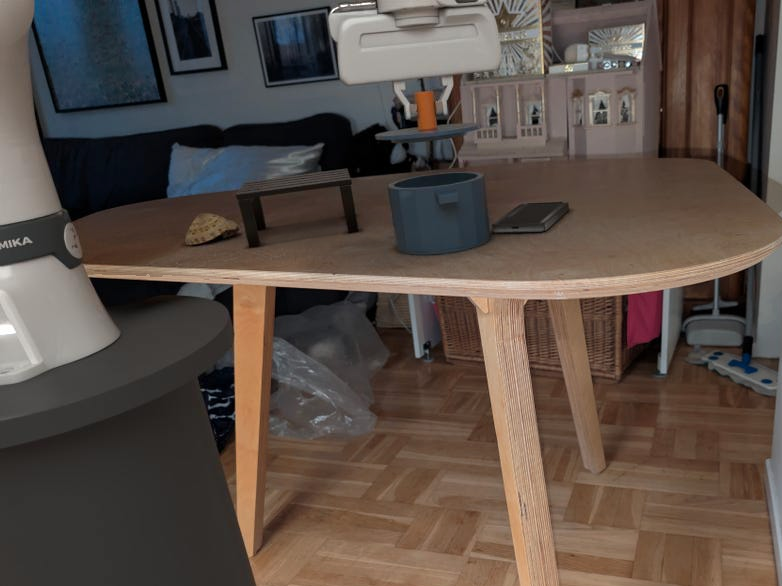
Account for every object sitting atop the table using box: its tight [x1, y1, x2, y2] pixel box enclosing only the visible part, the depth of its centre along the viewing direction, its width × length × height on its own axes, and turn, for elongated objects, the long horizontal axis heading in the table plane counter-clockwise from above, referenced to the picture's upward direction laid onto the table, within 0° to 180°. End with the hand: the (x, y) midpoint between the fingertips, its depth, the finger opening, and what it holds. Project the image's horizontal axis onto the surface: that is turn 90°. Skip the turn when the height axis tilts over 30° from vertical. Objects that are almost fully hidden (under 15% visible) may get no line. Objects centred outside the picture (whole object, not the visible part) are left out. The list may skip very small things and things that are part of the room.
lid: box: [374, 90, 482, 144], centre depth 89 cm, size 14×14×6 cm
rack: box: [235, 168, 360, 249], centre depth 113 cm, size 17×16×8 cm
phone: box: [491, 201, 570, 234], centre depth 102 cm, size 8×1×15 cm
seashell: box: [184, 212, 242, 246], centre depth 115 cm, size 8×6×8 cm
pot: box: [387, 171, 491, 256], centre depth 94 cm, size 13×18×8 cm
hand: (426, 117), depth 89 cm, fingers closed on lid, 2 cm apart
